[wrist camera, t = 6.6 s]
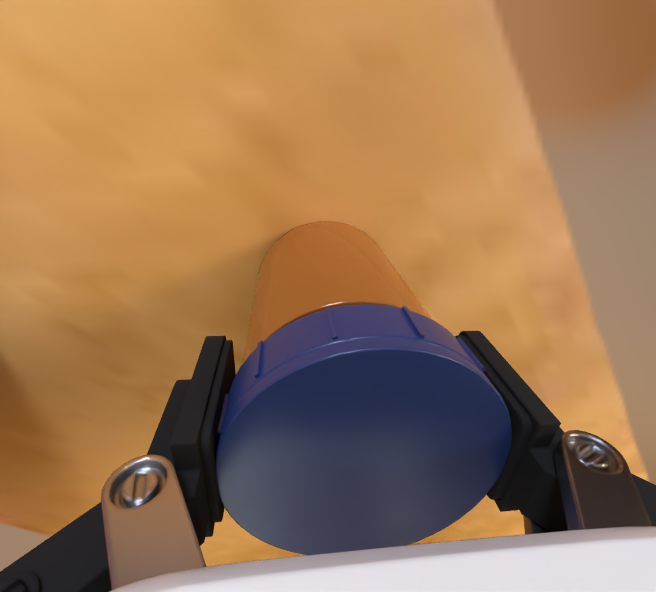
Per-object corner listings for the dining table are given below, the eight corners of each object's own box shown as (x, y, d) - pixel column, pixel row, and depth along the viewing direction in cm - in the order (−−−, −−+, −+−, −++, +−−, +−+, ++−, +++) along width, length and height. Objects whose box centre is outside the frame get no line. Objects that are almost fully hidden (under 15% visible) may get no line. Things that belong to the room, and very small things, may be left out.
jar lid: (215, 303, 8) (196, 351, 6) (503, 301, 9) (553, 344, 7) (235, 501, 11) (226, 569, 10) (447, 486, 12) (474, 546, 10)
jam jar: (416, 277, 18) (533, 419, 9) (330, 362, 20) (364, 546, 11) (317, 190, 16) (355, 277, 7) (230, 296, 17) (176, 468, 9)
